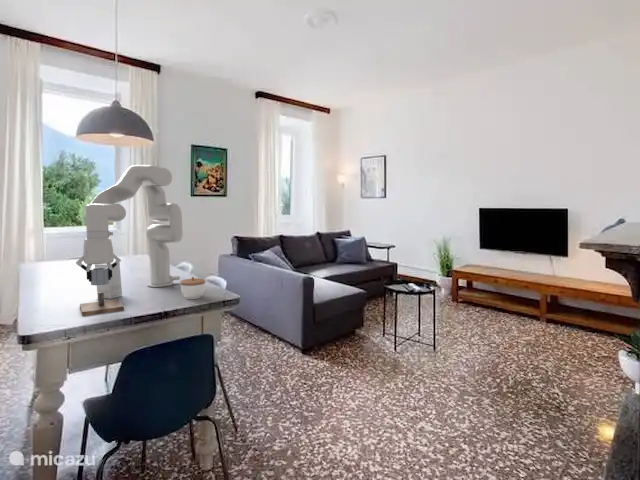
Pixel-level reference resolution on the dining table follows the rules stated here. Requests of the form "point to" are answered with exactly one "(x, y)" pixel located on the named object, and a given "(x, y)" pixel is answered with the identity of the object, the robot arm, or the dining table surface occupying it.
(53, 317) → the dining table surface
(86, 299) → the dining table surface
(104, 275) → the roll
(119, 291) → the skincare box
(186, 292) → the lidded jar
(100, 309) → the roll stand
